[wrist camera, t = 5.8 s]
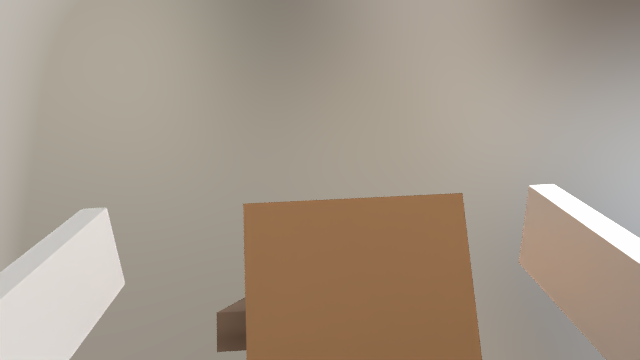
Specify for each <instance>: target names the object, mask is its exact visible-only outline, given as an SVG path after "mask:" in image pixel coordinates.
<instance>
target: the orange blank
mask: <svg viewBox="0 0 640 360" xmlns="http://www.w3.org/2000/svg"><path fill="white" fill-rule="evenodd" d="M243 206H244V249H245V251H244V254H245V302H246V350H247V360H482V356H481V347H480V339H479V330H478V321H477V313H476V305H475V296H474V288H473V279H472V271H471V263H470V254H469V245H468V237H467V228H466V220H465V212H464V203H463V196H462V193H455V194H436V195H414V196H395V197H373V198H355V199H354V198H352V199H334V200H333V199H331V200H312V201H290V202H271V203H270V202H269V203H249V204H243Z"/></svg>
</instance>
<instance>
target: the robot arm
mask: <svg viewBox="0 0 640 360" xmlns="http://www.w3.org/2000/svg"><path fill="white" fill-rule="evenodd" d="M519 263H520V265H522V267H523V268H524V269H525V270H526V271H527V272H528V273H529V275H530V276H531V277H532V278H533V279H534V280H535V281H536V282H537V284H538V285H539V286H540V287H541V288H542V289H543V290H544V291H545V292H546V293H547V295H548V296H549V297H550V298H551V299H552V300H553V301H554V302H555V303H556V305H557V306H558V307H559V308H560V309H561V310H562V311H563V312H564V314H565V315H566V316H567V317H568V318H569V319H570V320H571V321H572V322H573V323H574V325H575V326H576V327H577V328H578V329H579V330H580V331H581V332H582V334H583V335H584V336H585V337H586V338H587V339H588V340H589V341H590V342H591V344H592V345H593V346H594V347H595V348H596V349H597V350H598V351H599V352H600V354H601V355H602V356H603V357H604V358H605V359H606V360H640V238H638V237H637V236H635V235H633V234H632V233H630V232H629V231H627V230H626V229H624V228H622V227H621V226H619V225H617V224H616V223H614V222H613V221H611V220H609V219H608V218H606V217H605V216H603V215H602V214H600V213H599V212H597V211H595V210H594V209H592V208H591V207H589V206H587V205H585V204H584V203H583V202H581V201H580V200H578V199H576V198H575V197H573V196H571V195H570V194H568V193H567V192H565V191H564V190H562V189H560V188H559V187H557V186H556V185H554V184H547V185H530V186H529V189H528V197H527V204H526V212H525V220H524V228H523V236H522V243H521V250H520V258H519ZM124 285H125V281H124V277H123V273H122V269H121V265H120V261H119V257H118V252H117V249H116V244H115V240H114V236H113V232H112V228H111V224H110V219H109V215H108V211H107V208H91V209H81V210H80V211H79V212H77V213H76V214H75V215H74V216H72V217H71V218H70V219H68V220H67V221H66V222H64V223H63V224H62V225H61V226H59V227H58V228H57V229H56V230H54V231H53V232H52V233H50V234H49V235H48V236H46V237H45V238H44V239H43V240H41V241H40V242H39V243H37V244H36V245H35V246H34V247H32V248H31V249H30V250H28V251H27V252H26V253H25V254H23V255H22V256H21V257H19V258H18V259H17V260H16V261H14V262H13V263H12V264H10V265H9V266H8V267H7V268H5V269H4V270H3V271H2V272H0V360H69V359H70V358H71V357H72V355H73V354H74V353H75V351H76V350H77V348H78V347H79V346H80V344H81V343H82V342H83V340H84V339H85V338H86V336H87V335H88V333H89V332H90V331H91V329H92V328H93V327H94V325H95V324H96V322H97V321H98V320H99V319H100V317H101V316H102V314H103V313H104V312H105V310H106V309H107V308H108V306H109V305H110V304H111V302H112V301H113V300H114V298H115V297H116V295H117V294H118V293H119V291H120V290H121V289H122V287H123V286H124Z"/></svg>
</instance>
